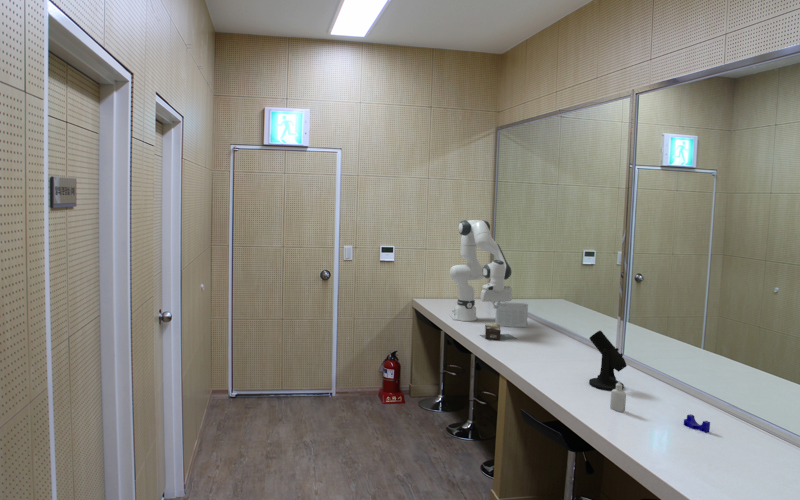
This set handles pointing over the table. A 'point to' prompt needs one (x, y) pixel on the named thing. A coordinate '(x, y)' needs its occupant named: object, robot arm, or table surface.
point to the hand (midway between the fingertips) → (495, 308)
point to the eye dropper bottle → (618, 398)
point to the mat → (502, 336)
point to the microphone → (607, 363)
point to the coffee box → (492, 331)
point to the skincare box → (512, 314)
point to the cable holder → (696, 424)
